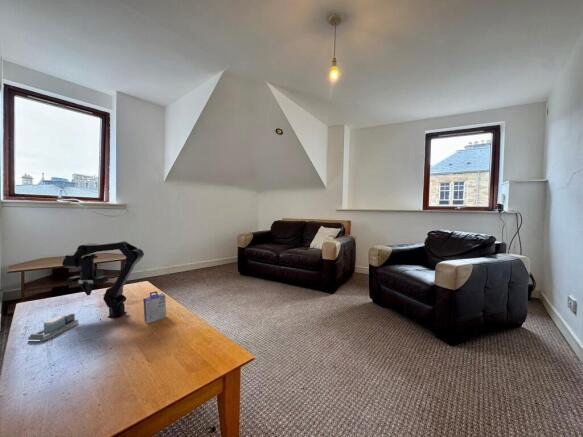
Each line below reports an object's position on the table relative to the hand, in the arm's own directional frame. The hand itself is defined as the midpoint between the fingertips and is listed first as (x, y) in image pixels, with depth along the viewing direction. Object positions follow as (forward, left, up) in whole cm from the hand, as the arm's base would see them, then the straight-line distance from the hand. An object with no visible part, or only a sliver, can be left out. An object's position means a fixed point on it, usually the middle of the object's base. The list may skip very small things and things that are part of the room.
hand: (88, 295), depth 135 cm
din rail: (+3, +16, -12) cm, 21 cm away
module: (+3, +16, -11) cm, 20 cm away
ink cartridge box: (-38, +2, -12) cm, 40 cm away
